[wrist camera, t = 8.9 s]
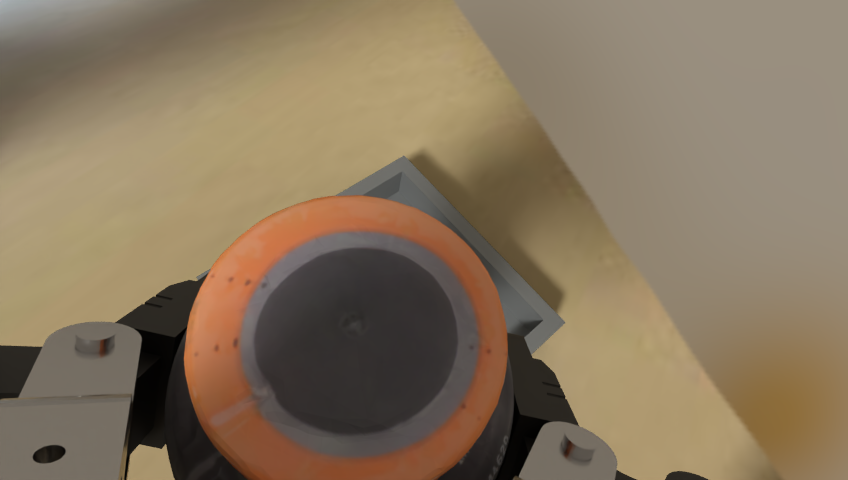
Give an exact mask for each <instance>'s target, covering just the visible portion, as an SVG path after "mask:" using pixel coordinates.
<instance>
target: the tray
mask: <svg viewBox="0 0 848 480" xmlns="http://www.w3.org/2000/svg"><path fill="white" fill-rule="evenodd" d="M348 195H362V196H370V197H377V198H383V199H388V200H392V201H397V202H399V203H402V204H405V205H407V206H411V207H414V208H417V209H419V210H420V211H422V212H424V213H426V214H428V215H430V216H431V217H433V218H435V219H437V220H438V221H440V222H441V223H442V224H444V225H445V226H447V227H448V228H450V229H451V230H452V231H453V232H454V233H456V234H457V235H458V236H459V237H460V238H461V239H462V240H464V241H465V243H466V244H467V245H468V246H469V247H470V248H471V249H472V250H473V251H474V253H475V254H476V255H477V256H478V257H479V259H480V261H481V262H482V264H483V265H484V267H485V268H486V270H487V271H488V273H489V275H490V277H491V279H492V281H493V283H494V285H495V286H496V288H497V291H498V295H499V298H500V302H501V306H502V309H503V313H504V317H505V322H506V328H507V333H511V334H516V335H520V336H523V337H524V338H525V341H526V343H527V346H528V348H529V351H530V353H531V354H532V353H533V352H535V351H536V350H537V349H538V348H539V347H540V346H541V345H542V344H543V343H544V342H545V341H546V340H547V339H548V338H550V337H551V336H552V335H553V334H554V333H555V332H556V331H557V330H558V329H559V328H560V327H561V326H562V325H563V324H564V323H565V322H564V321H563V319H562V318H561V317H560V316H559V315H558V314H557V313H556V312H555V311H554V310H553V309H552V308H551V307H550V306H549V305H548V304H547V303H546V302H545V301H544V300H543V299H542V298H541V297H540V296H539V295H538V294H537V293H536V292H535V291H534V289H533V288H532V287H531V286H530V285H529V284H528V283H527V282H526V281H525V280H524V279H523V278H522V277H521V276H520V275H519V274H518V273H517V272H516V271H515V270H514V269H513V268H512V267H511V266H510V265H509V264H508V263H507V262H506V260H505V259H504V258H503V257H502V256H501V255H500V254H499V253H498V252H497V251H496V250H495V249H494V248H493V247H492V246H491V245H490V244H489V243H488V242H487V241H486V240H485V239H484V238H483V237H482V236H481V235H480V234H479V233H478V231H477V230H476V229H475V228H474V227H473V226H472V225H471V224H470V223H469V222H468V221H467V220H466V219H465V218H464V217H463V216H462V215H461V214H460V213H459V212H458V211H457V210H456V209H455V208H454V207H453V206H452V205H451V204H450V203H449V201H448V200H447V199H446V198H445V197H444V196H443V195H442V194H441V193H440V192H439V191H438V190H437V189H436V188H435V187H434V186H433V185H432V184H431V183H430V182H429V181H428V180H427V179H426V178H425V177H424V176H423V175H422V174H421V172H420V171H419V170H418V169H417V168H416V167H415V166H414V165H413V164H412V163H411V162H410V161H409V160H408V159H407V158H406V157H405V156H403V157H401V158H399V159H397V160H396V161H394V162H392V163H391V164H389V165H387V166H385V167H384V168H382V169H380V170H379V171H377V172H375V173H373V174H372V175H370V176H368V177H367V178H365V179H363V180H361V181H360V182H358V183H356V184H355V185H353V186H351V187H349V188H348V189H346V190H344V191H343V192H341V193H339V194H337V195H336V196H348ZM210 270H211V269H209V270H207V271H206V272H204V273H202V274H201V275H199V276H197V279H198V280H199V279H201V278H202V277H203V276H205V275H206V274H207V273H209V272H210Z"/></svg>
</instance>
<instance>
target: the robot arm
mask: <svg viewBox="0 0 848 480" xmlns="http://www.w3.org/2000/svg"><path fill="white" fill-rule="evenodd" d="M207 275H208V273H207V274H206V275H205V276H203V277H202V278H201V279H199V280H198V281H192V280H188V281H184V282H181V283H177V284H174V285H170V286H168V287H167V288H165V289H164V290H162V291H161V292H159V293H158V294H157V295H156V297H152V298H151V299H149V300H148V301H146V302H145V304H142V305H140V306H139V307H137V308H136V309H134V310H133V311H132V312H130V313H129V314H127V315H126V316H124V317H123V318H121V319H120V320H118V321H117V322H115V323H112V322H86V323H80V324H75V325H70V326H67V327H64V328H62V329H60V330H57V331H56V332H54V333H52V334H51V335H50V336H49V337H48V338H47V339H46V341H45V343H44V345H43V347H27V346H1V345H0V480H127V478H128V471H129V462H130V454H131V453H132V452H133V451H134V449H135V448H136V447H137V446H138V445H139V444H141V445H146V446H151V447H156V448H160V449H162V448H163V446H164V445H165V444H166V438H165V428H164V414H165V400H166V393H167V386H168V380H169V375H170V372H171V368H172V365H173V361H174V358H175V355H176V352H177V350H178V347H179V345H180V342H181V340H182V338H183V336H184V334H185V331H186V330H187V326H188V321H189V316H190V312H191V310H192V307H193V304H194V301H195V299H196V297H197V294H198V292H199V290H200V288H201V286H202V284H203V282H204V281H205V279H206V277H207ZM507 341H508V356H509V360H510V365H511V370H512V378H513V389H514V412H513V423H512V429H511V435H510V439H509V443H508V447H507V450H506V454H505V457H504V460H503V463H502V466H501V468H500V471H499V473H498V476H497V478H496V480H636V479H634V478H631V477H629V476H627V475H625V474H623V473H621V472H619V471H618V470H616V469H617V459H616V456H615V454H614V452H613V451H612V450H611V448H610V447H609V446H608V445H607V444H606V443H605V442H604V441H603V440H602V439H600V438H599V437H598V436H596V435H595V434H593V433H592V432H590V431H588V430H586V429H584V428H582V427H580V426H579V425H578V423H577V421H576V418H575V416H574V414H573V412H572V410H571V408H570V406H569V403H568V401H567V399H565V395H564V393H563V390H562V389H561V388H560V384H559V382H558V380H557V378H556V375H555V373H554V372H553V371H552V370H551V369H550V368H549V367H548V366H547V365H546V364H545V363H543V362H542V361H541V360H538V359H534V358H532V356H531V353H530V351H529V348H528V346H527V343H526V341H525V338H524V337H523V336H520V335H516V334H511V333H507ZM665 480H708V479H706V478H704V477H701V476H698V475H696V474H692V473H689V472H683V471H676V472H672V473H669V474H668V475H667V477H666V479H665Z"/></svg>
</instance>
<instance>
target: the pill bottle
mask: <svg viewBox="0 0 848 480" xmlns="http://www.w3.org/2000/svg"><path fill="white" fill-rule="evenodd" d="M513 412H514V389H513V378H512V370H511V365H510V360H509V356H508V341H507V328H506V322H505V317H504V313H503V309H502V306H501V302H500V298H499V295H498V291H497V288H496V286H495V285H494V283H493V281H492V279H491V277H490V275H489V273H488V271H487V270H486V268H485V267H484V265H483V264H482V262H481V261H480V259H479V257H478V256H477V255H476V254H475V253H474V251H473V250H472V249H471V248H470V247H469V246H468V245H467V244H466V243H465V241H464V240H462V239H461V238H460V237H459V236H458V235H457V234H456V233H454V232H453V231H452V230H451V229H450V228H448V227H447V226H445V225H444V224H442V223H441V222H440V221H438V220H437V219H435V218H433V217H431V216H430V215H428V214H426V213H424V212H422V211H420V210H419V209H417V208H414V207H411V206H407V205H405V204H402V203H399V202H397V201H392V200H388V199H383V198H377V197H370V196H362V195H348V196H328V197H322V198H316V199H312V200H309V201H306V202H302V203H298V204H296V205H293V206H291V207H288V208H285V209H283V210H281V211H278V212H276V213H274V214H272V215H270V216H268V217H267V218H265V219H263V220H261V221H260V222H258V223H257V224H255V225H254V226H252V227H251V228H250V229H249V230H247V231H246V232H245V233H244V234H242V235H241V236H240V237H239V238H238V239H237V240H236V241H235V242H234V243H233V244H232V245H231V246H230V247H229V248H228V249H227V250H225V251H224V252H223V253H222V254H221V255H220V257H219V258H218V259H217V261H216V262H215V263H214V264H213V266H212V268H211V270H210V272H209V273H208V275H207V277H206V279H205V281H204V282H203V284H202V286H201V288H200V290H199V292H198V294H197V297H196V299H195V301H194V304H193V307H192V310H191V312H190V316H189V321H188V326H187V330H186V331H185V334H184V336H183V338H182V340H181V342H180V345H179V347H178V350H177V352H176V355H175V358H174V361H173V365H172V368H171V372H170V375H169V380H168V386H167V393H166V400H165V414H164V428H165V438H166V445H167V451H168V456H169V460H170V464H171V468H172V472H173V476H174V478H175V480H496V478H497V476H498V473H499V471H500V468H501V466H502V463H503V460H504V457H505V454H506V450H507V447H508V443H509V439H510V435H511V429H512V423H513Z"/></svg>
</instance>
